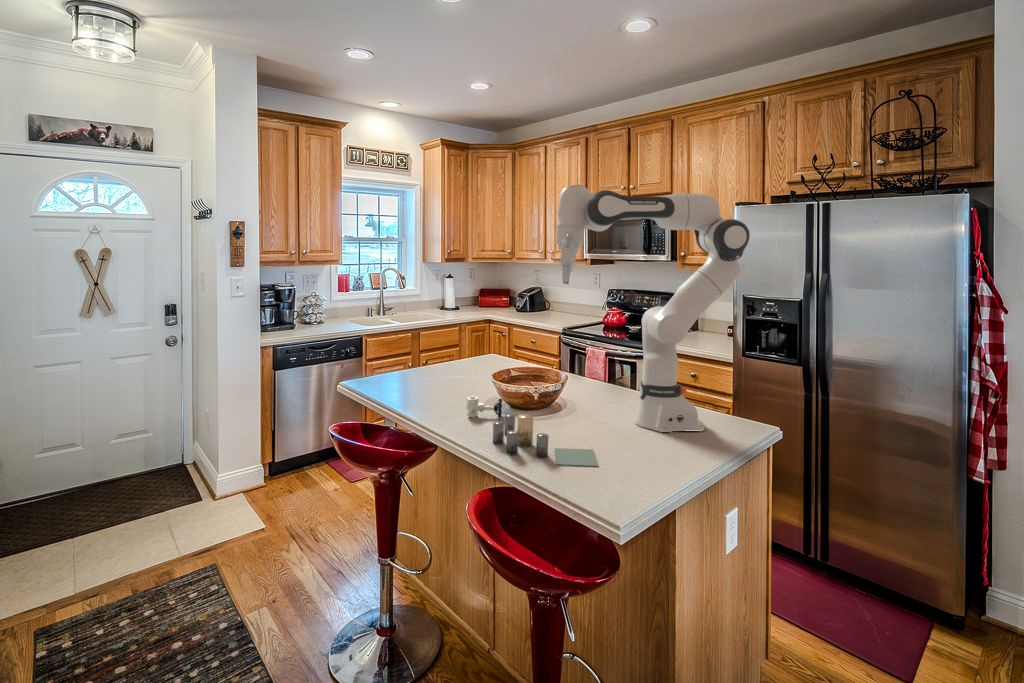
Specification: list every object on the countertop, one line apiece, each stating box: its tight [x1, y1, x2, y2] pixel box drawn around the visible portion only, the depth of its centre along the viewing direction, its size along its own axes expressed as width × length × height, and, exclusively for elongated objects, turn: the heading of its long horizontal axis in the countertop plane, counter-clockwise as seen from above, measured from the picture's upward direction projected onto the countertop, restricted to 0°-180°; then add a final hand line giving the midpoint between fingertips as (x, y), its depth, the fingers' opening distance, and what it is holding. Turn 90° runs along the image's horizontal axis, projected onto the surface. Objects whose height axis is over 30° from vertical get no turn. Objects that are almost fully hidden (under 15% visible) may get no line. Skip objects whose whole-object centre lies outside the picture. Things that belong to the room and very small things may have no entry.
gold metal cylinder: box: [516, 413, 534, 448], centre depth 156 cm, size 4×4×8 cm
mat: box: [553, 447, 599, 468], centre depth 148 cm, size 11×12×1 cm
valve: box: [465, 396, 503, 418], centre depth 183 cm, size 7×7×12 cm
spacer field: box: [492, 413, 549, 459], centre depth 155 cm, size 10×23×6 cm, turn 27°
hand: (565, 282), depth 167 cm, fingers open, 8 cm apart
